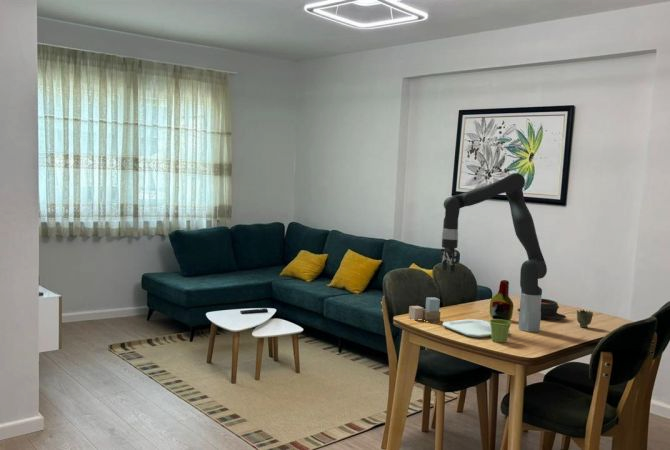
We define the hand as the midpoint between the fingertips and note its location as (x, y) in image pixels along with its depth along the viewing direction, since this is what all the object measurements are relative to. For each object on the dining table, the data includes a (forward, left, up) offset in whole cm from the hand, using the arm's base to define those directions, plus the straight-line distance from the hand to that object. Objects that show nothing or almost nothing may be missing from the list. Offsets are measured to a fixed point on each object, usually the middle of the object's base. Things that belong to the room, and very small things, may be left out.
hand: (448, 271), depth 296 cm
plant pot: (-38, -9, -24) cm, 46 cm away
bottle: (+1, -30, -24) cm, 39 cm away
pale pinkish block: (+1, +15, -24) cm, 28 cm away
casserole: (+7, -56, -24) cm, 62 cm away
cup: (-15, -66, -24) cm, 72 cm away
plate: (-21, -6, -25) cm, 33 cm away
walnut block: (-2, +8, -24) cm, 26 cm away
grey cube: (-2, +8, -19) cm, 21 cm away
